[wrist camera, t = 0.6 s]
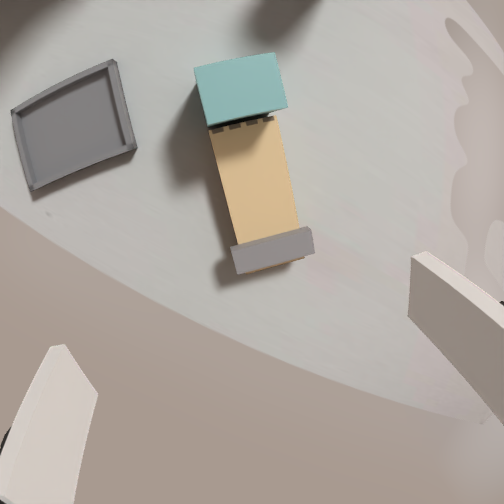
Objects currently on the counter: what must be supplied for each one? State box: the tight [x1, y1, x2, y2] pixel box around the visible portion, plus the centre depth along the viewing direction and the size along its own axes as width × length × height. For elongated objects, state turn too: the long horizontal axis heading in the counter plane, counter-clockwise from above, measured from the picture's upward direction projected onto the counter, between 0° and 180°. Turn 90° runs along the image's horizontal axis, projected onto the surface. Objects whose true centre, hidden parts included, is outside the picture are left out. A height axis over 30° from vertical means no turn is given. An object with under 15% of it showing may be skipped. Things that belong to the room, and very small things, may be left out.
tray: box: [10, 59, 137, 192], centre depth 24 cm, size 9×12×2 cm
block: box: [194, 52, 288, 127], centre depth 23 cm, size 4×6×7 cm
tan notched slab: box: [209, 115, 315, 275], centre depth 28 cm, size 14×8×4 cm, turn 13°
